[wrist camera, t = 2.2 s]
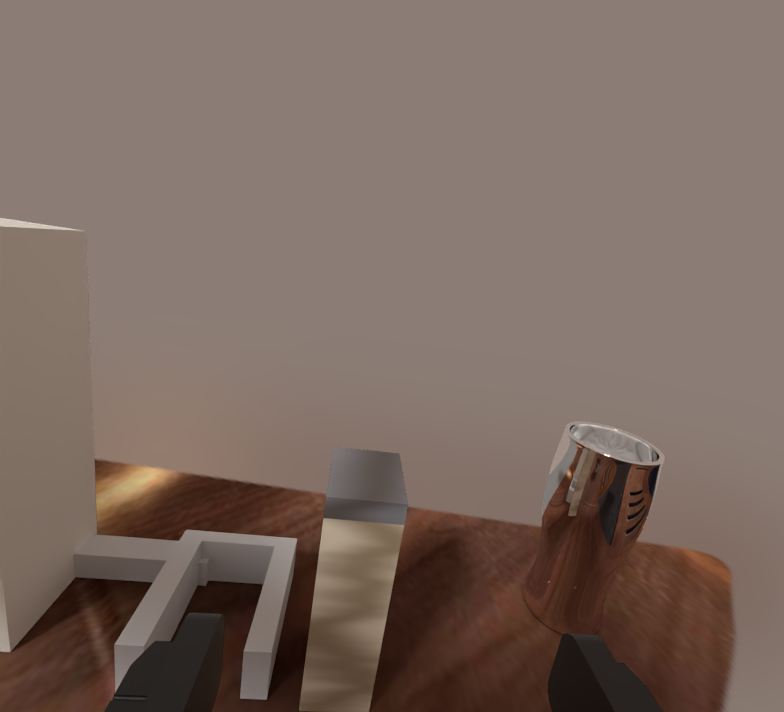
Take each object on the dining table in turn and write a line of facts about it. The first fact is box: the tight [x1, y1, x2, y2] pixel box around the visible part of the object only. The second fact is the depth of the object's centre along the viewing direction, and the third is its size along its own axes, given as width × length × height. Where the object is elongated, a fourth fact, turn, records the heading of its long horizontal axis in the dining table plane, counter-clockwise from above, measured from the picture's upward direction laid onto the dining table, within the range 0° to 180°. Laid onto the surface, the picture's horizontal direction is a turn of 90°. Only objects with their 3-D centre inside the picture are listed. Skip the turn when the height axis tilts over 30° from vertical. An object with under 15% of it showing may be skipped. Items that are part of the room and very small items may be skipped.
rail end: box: [299, 447, 408, 712], centre depth 24 cm, size 4×5×14 cm
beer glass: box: [523, 421, 664, 635], centre depth 31 cm, size 7×7×15 cm
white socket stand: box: [0, 218, 297, 700], centre depth 24 cm, size 21×10×24 cm, turn 94°
